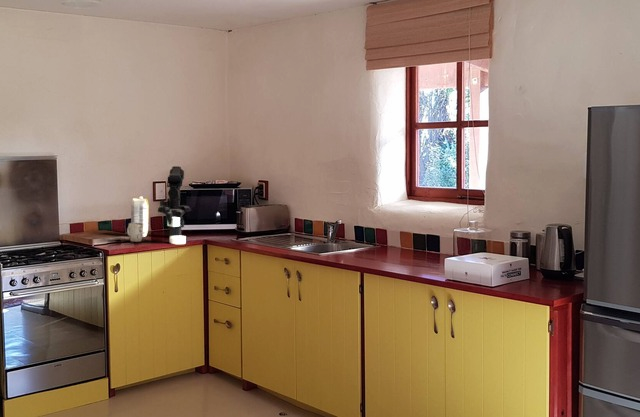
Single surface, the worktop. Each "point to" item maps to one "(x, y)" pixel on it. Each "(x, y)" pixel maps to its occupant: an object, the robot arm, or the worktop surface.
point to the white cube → (174, 222)
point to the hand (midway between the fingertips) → (173, 224)
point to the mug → (135, 231)
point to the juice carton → (140, 213)
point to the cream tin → (177, 239)
